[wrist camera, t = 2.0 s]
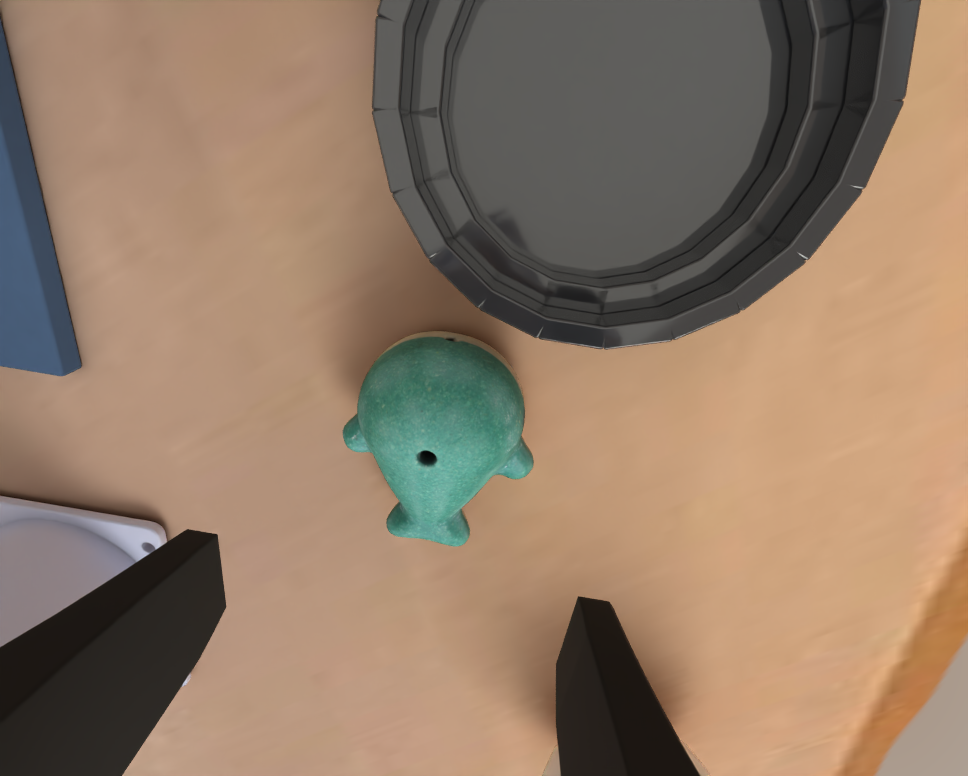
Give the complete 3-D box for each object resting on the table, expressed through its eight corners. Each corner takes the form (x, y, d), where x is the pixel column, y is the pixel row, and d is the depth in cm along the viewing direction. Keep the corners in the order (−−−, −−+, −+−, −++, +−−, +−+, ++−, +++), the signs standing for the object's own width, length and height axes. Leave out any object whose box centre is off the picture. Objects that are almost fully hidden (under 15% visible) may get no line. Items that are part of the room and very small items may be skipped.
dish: (739, 343, 14) (779, 379, 12) (388, 285, 14) (362, 311, 12) (932, -139, 10) (1054, -226, 7) (419, -219, 10) (388, -330, 8)
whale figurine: (558, 341, 15) (568, 399, 11) (509, 529, 18) (505, 620, 14) (363, 303, 15) (313, 350, 11) (349, 499, 18) (307, 582, 14)
